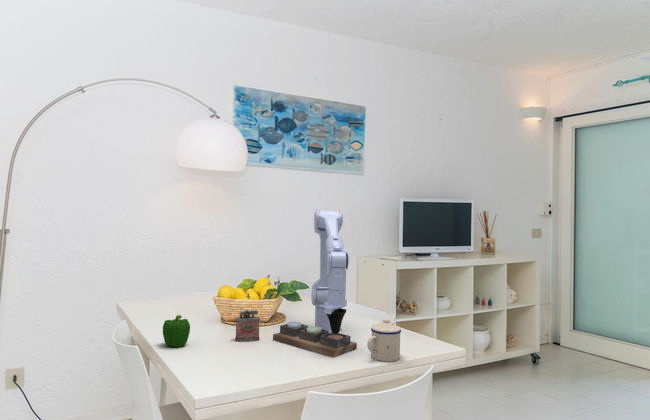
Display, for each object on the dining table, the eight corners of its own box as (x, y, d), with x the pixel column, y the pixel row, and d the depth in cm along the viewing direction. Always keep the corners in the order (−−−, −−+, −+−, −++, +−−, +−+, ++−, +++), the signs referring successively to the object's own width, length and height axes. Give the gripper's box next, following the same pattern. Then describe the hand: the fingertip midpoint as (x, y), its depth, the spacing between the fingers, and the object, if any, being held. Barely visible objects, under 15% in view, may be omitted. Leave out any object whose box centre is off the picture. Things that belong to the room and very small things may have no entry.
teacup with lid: (384, 351, 151) (385, 314, 151) (406, 358, 144) (407, 320, 144) (357, 358, 143) (358, 319, 143) (378, 366, 136) (379, 325, 136)
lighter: (235, 342, 157) (236, 311, 157) (234, 339, 160) (235, 309, 160) (260, 341, 159) (260, 311, 159) (258, 338, 162) (259, 308, 162)
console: (297, 333, 169) (297, 320, 169) (356, 349, 152) (356, 334, 152) (272, 340, 160) (273, 326, 160) (332, 357, 143) (333, 342, 143)
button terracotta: (334, 339, 154) (334, 333, 154) (345, 342, 151) (346, 336, 151) (324, 342, 150) (324, 336, 150) (336, 345, 147) (336, 339, 147)
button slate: (294, 326, 165) (294, 320, 165) (304, 328, 162) (304, 323, 162) (284, 328, 162) (284, 323, 162) (294, 331, 159) (294, 325, 159)
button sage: (313, 330, 160) (313, 325, 160) (324, 333, 156) (324, 328, 156) (303, 333, 156) (303, 328, 156) (314, 336, 153) (314, 330, 153)
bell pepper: (161, 342, 154) (162, 311, 154) (188, 341, 157) (189, 310, 157) (162, 350, 146) (163, 317, 146) (190, 348, 149) (191, 316, 149)
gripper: (333, 285, 159) (331, 325, 159) (315, 291, 145) (314, 336, 145) (353, 286, 156) (352, 328, 156) (337, 294, 142) (336, 339, 143)
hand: (335, 332), depth 150 cm, fingers closed
